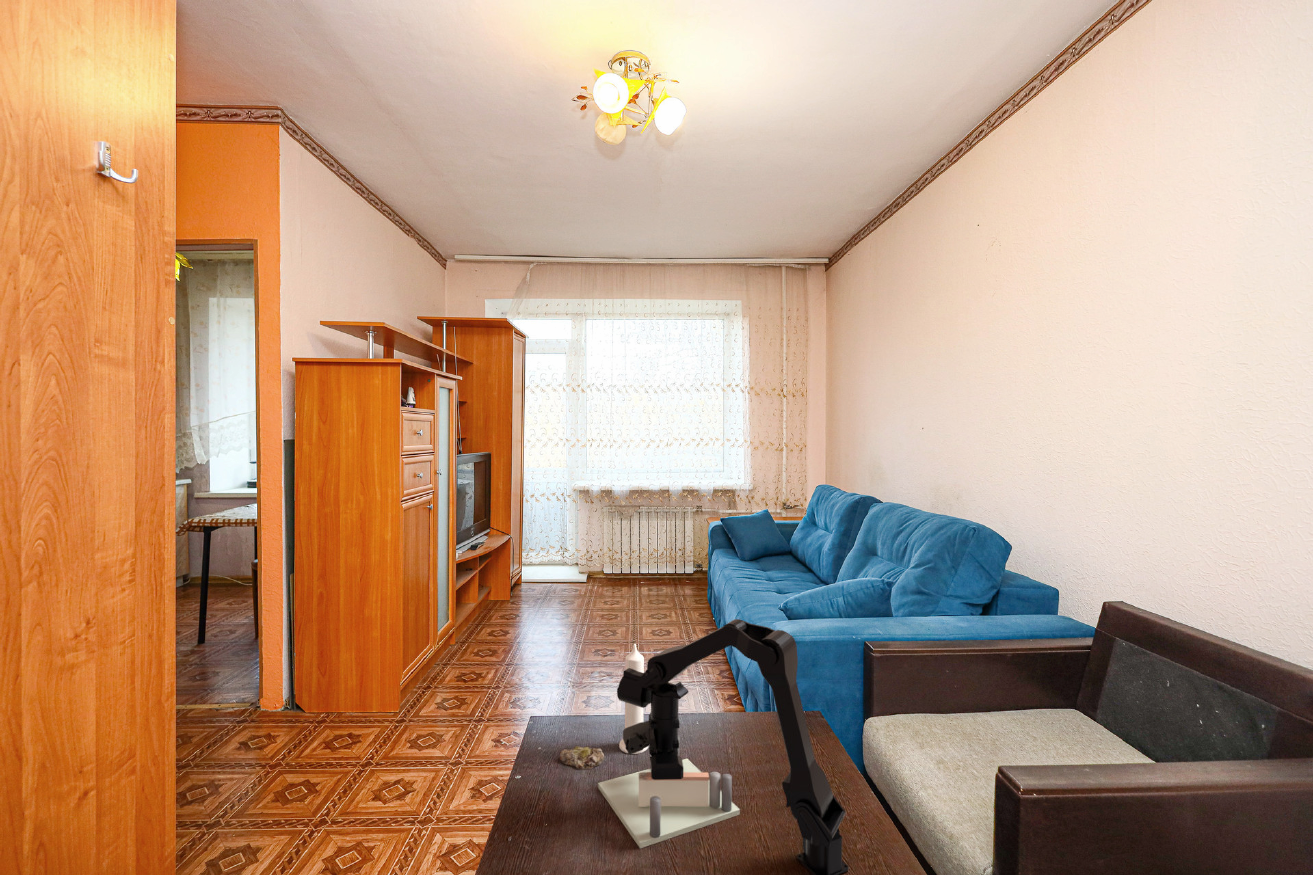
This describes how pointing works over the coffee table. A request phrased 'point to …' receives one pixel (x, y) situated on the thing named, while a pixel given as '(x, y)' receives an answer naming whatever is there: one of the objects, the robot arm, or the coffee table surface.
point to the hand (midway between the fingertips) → (663, 787)
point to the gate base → (663, 809)
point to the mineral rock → (582, 757)
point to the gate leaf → (681, 790)
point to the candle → (631, 711)
